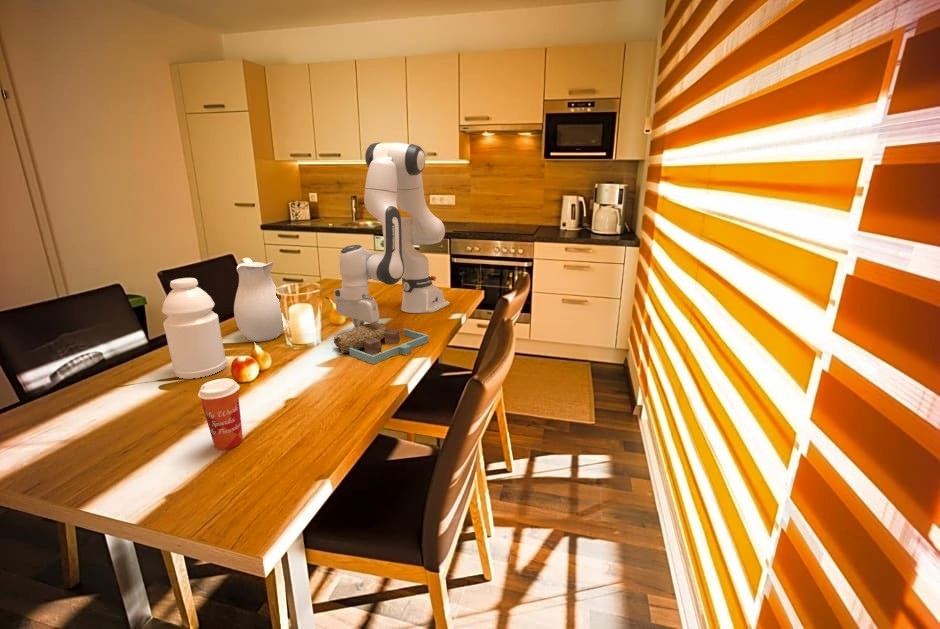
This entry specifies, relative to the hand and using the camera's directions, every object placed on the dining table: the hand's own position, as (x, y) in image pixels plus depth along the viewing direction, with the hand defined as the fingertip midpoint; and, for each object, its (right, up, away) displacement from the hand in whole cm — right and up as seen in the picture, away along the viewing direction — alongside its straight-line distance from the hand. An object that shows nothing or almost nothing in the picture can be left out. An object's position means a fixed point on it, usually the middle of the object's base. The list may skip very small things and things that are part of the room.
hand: (358, 330), depth 163 cm
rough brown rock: (+3, -5, -5) cm, 8 cm away
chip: (+8, -7, -12) cm, 16 cm away
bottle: (-42, -11, -24) cm, 50 cm away
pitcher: (-38, -2, +7) cm, 38 cm away
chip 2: (+13, -4, -3) cm, 14 cm away
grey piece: (+14, -6, -10) cm, 18 cm away
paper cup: (-13, -23, -62) cm, 68 cm away
